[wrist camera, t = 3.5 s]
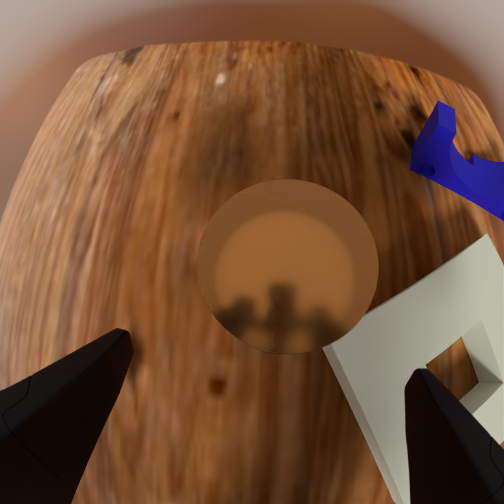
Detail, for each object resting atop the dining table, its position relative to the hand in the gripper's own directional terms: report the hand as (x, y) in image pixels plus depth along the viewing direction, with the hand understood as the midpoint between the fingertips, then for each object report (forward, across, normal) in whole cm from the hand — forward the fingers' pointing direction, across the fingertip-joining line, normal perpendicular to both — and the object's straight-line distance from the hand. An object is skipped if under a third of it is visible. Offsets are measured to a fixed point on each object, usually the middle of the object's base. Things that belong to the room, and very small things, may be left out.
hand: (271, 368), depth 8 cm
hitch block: (+6, -12, +7) cm, 16 cm away
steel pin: (+8, 0, +5) cm, 10 cm away
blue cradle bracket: (+19, -16, -4) cm, 25 cm away
